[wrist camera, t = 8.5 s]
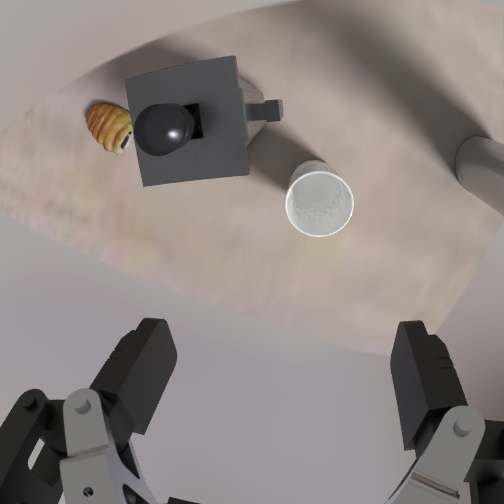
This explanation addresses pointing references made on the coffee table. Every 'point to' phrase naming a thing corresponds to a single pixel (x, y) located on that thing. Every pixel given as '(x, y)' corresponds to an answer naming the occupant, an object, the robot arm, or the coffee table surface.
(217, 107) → the square french press
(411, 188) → the coffee table surface
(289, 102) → the coffee table surface
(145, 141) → the plunger
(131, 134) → the pastry
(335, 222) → the white cup
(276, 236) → the coffee table surface
